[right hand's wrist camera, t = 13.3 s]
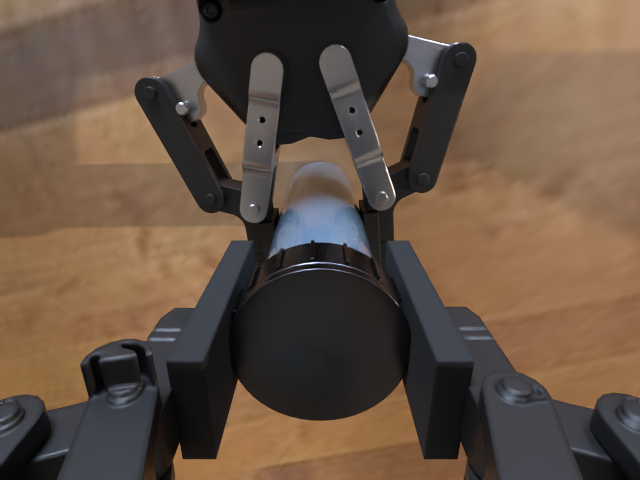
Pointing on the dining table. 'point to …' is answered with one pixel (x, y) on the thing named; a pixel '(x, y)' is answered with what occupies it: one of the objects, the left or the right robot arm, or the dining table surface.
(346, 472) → the dining table surface
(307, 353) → the lid
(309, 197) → the bottle
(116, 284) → the dining table surface
